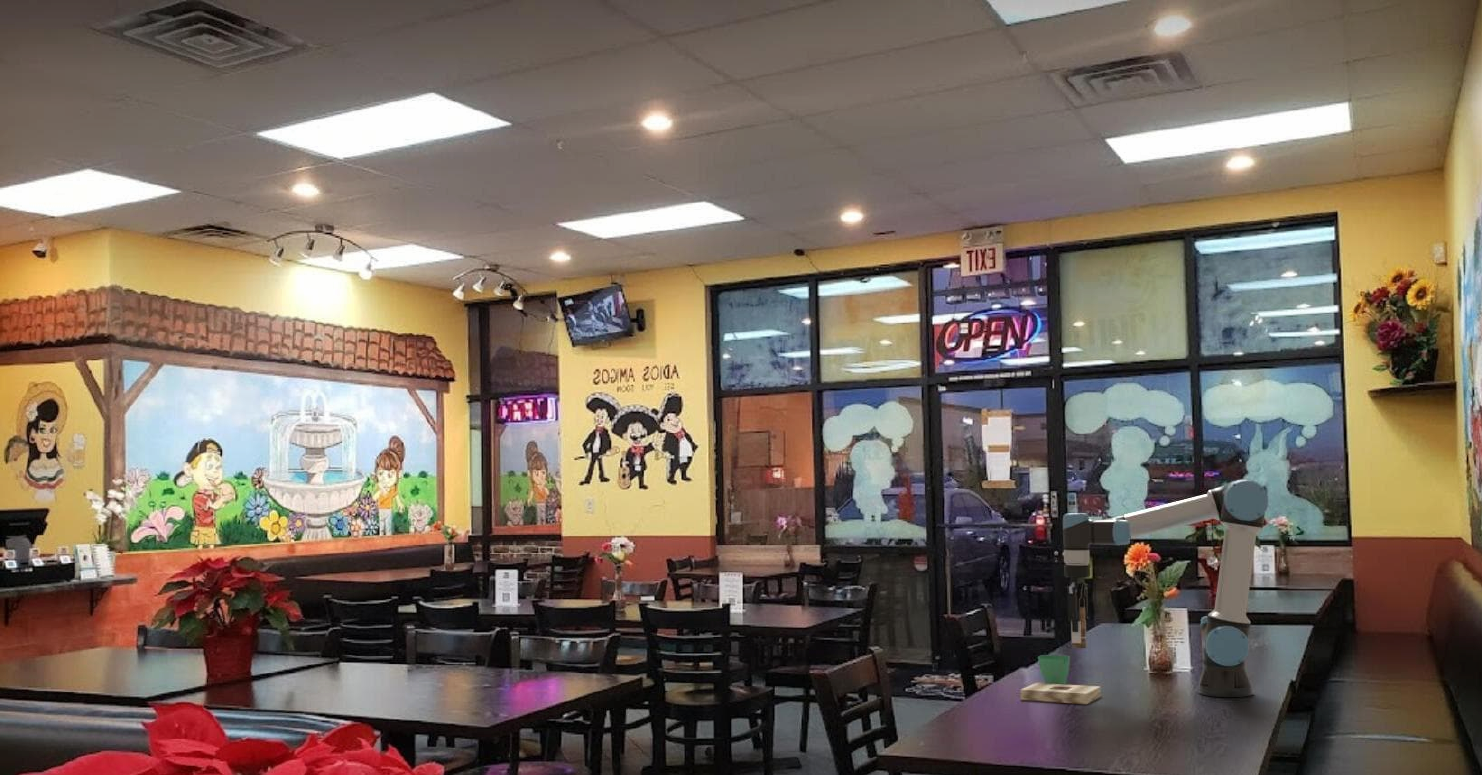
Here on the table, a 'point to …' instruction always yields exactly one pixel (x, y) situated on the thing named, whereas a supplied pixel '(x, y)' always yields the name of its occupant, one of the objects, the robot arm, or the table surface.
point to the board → (1061, 693)
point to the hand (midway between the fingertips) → (1078, 641)
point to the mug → (1054, 668)
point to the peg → (1083, 630)
